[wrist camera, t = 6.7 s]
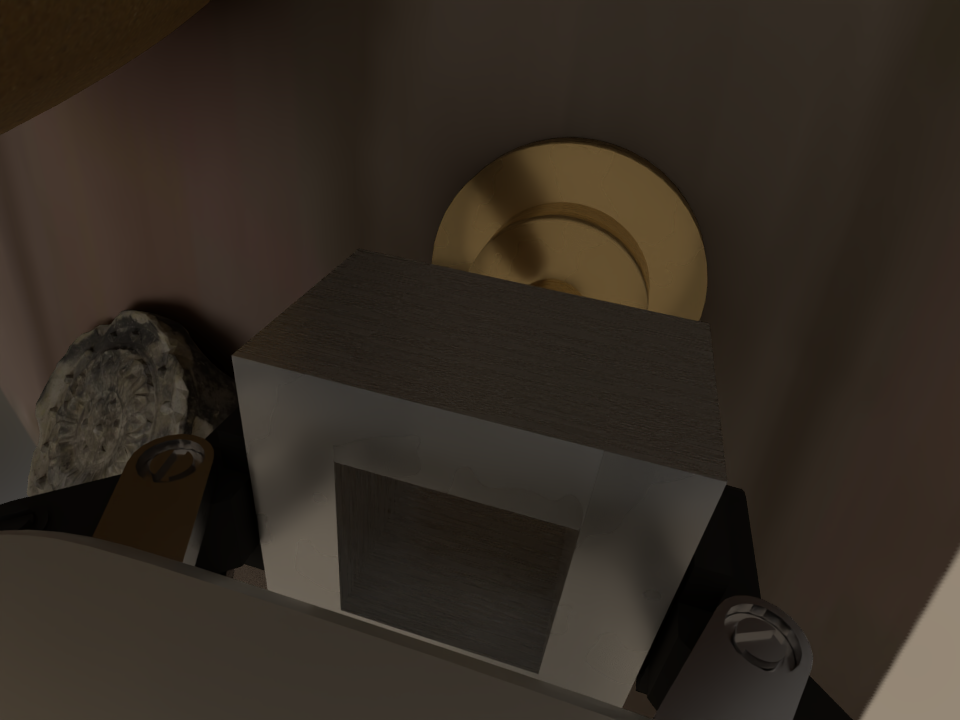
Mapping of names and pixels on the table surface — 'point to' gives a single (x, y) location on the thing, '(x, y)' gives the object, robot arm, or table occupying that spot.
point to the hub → (579, 227)
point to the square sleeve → (483, 464)
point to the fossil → (124, 399)
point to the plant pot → (73, 46)
